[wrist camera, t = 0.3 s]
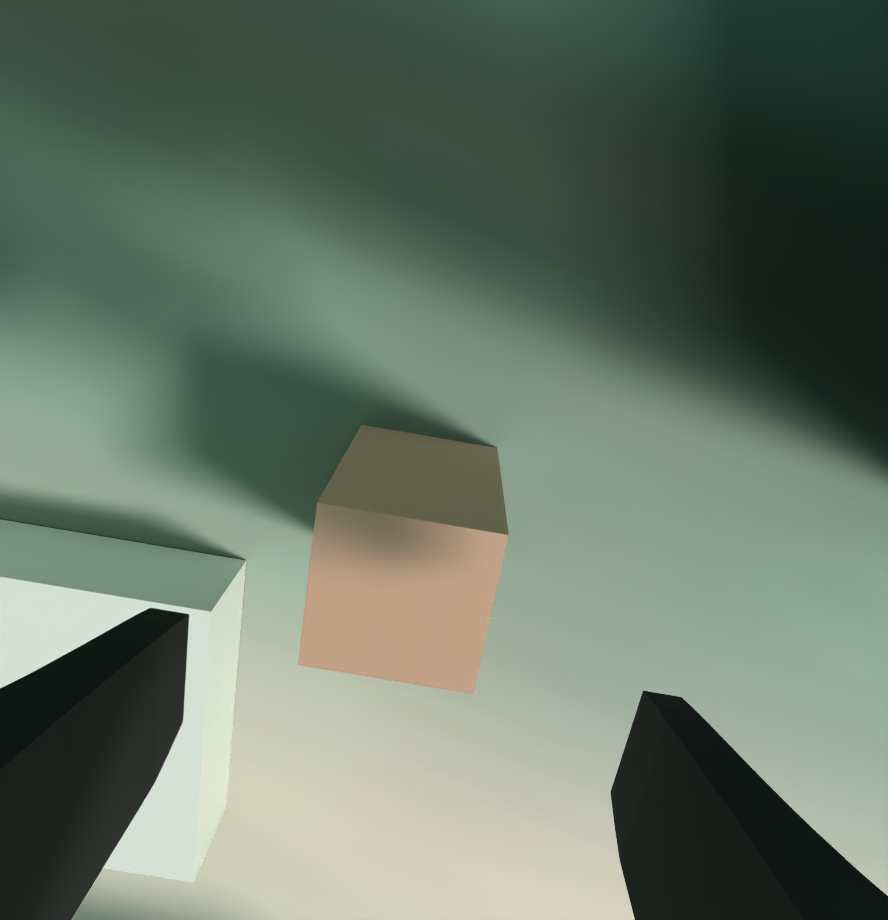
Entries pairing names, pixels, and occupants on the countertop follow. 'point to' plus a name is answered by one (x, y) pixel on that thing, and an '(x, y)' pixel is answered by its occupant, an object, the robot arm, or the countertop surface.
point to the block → (406, 560)
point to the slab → (107, 605)
